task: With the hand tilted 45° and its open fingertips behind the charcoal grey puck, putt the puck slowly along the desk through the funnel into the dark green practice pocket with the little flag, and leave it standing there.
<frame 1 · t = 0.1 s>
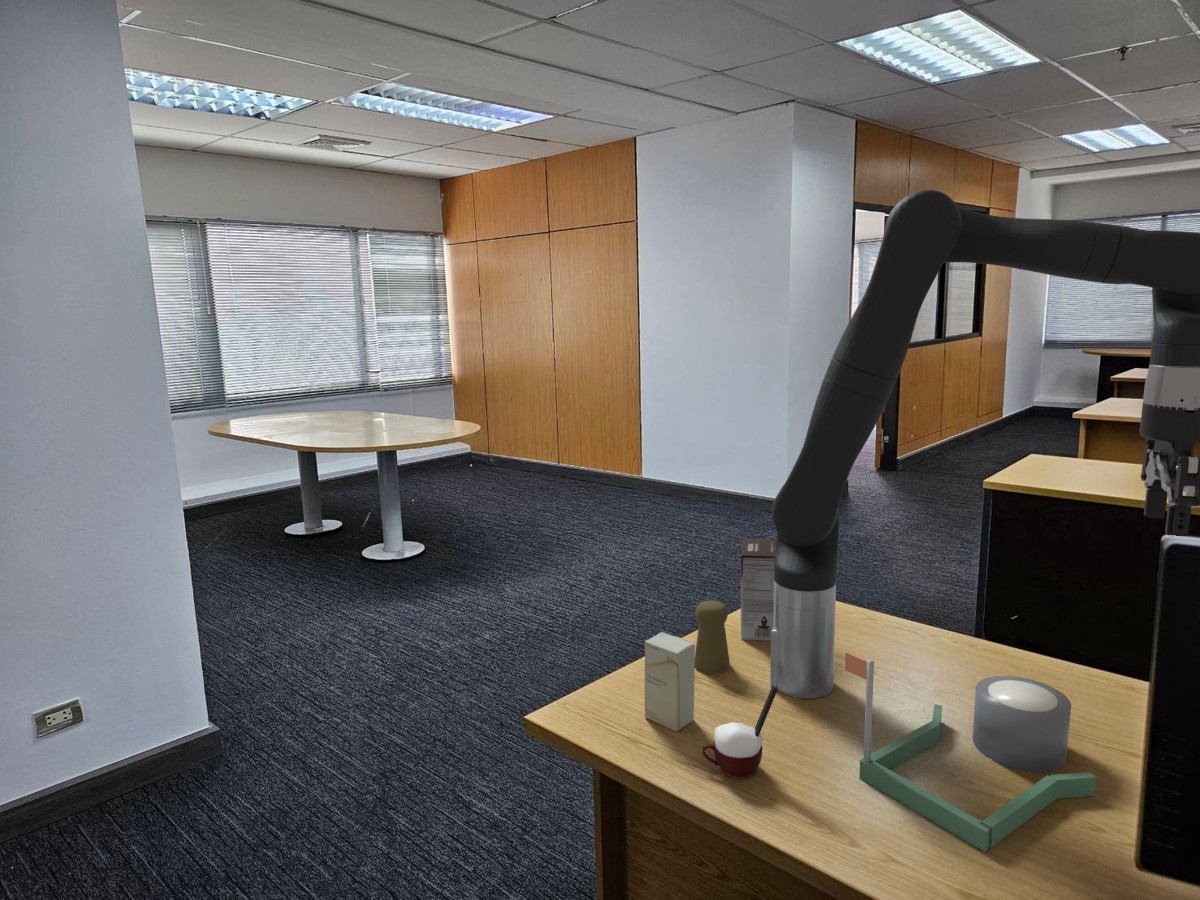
hand: (1164, 526, 98), 29 cm above the table, tool pointing down, fingers open, 8 cm apart
practice pocket: (957, 786, 94), on the table
skincare box: (670, 720, 112), on the table
coffee box: (758, 631, 140), on the table
cocoa: (739, 771, 99), on the table
cork: (711, 666, 127), on the table
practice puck: (1018, 747, 102), on the table
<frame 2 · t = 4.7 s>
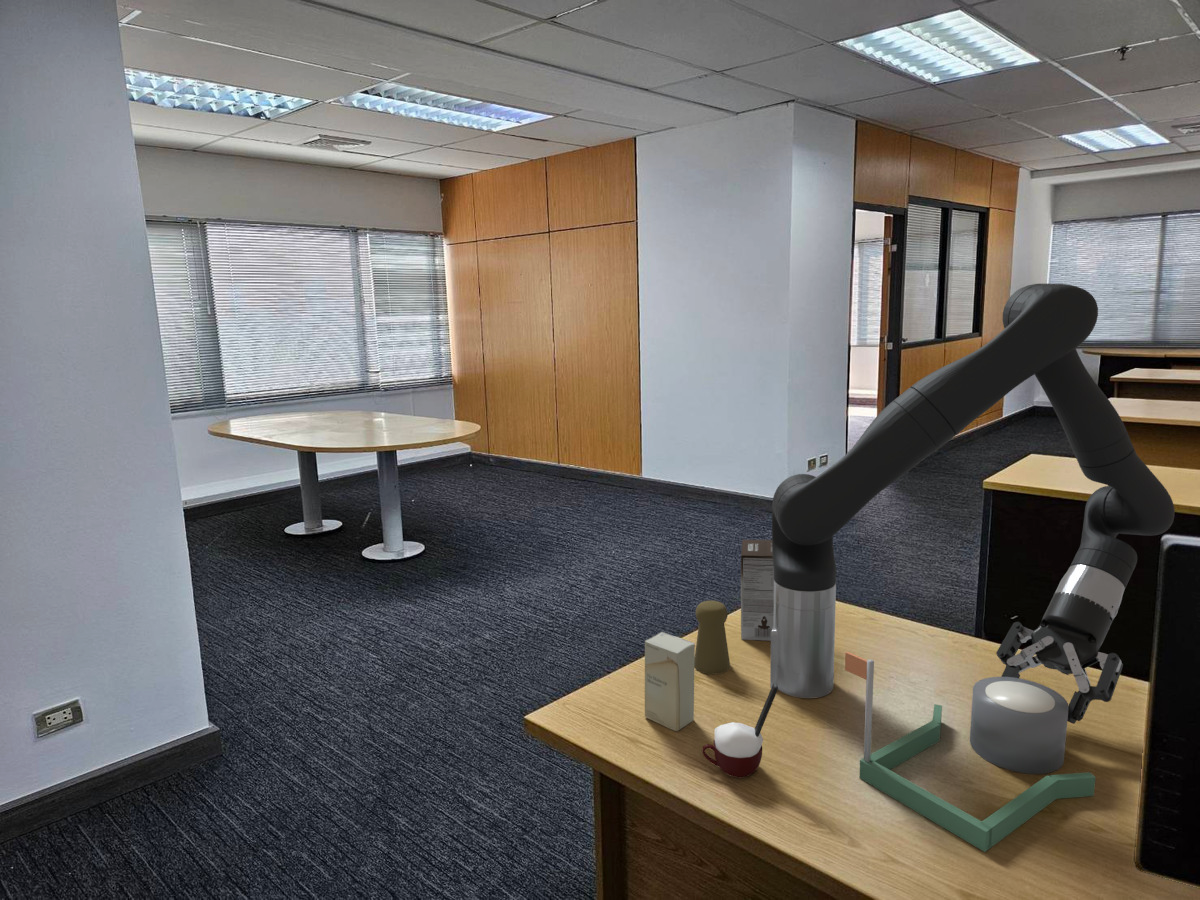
hand: (1035, 706, 103), 5 cm above the table, tool tilted 45°
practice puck: (1015, 748, 101), on the table, touching gripper
everything else where it was.
when the fingers open (5 cm above the table, at t = 5.8 s): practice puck stays where it is, on the table.
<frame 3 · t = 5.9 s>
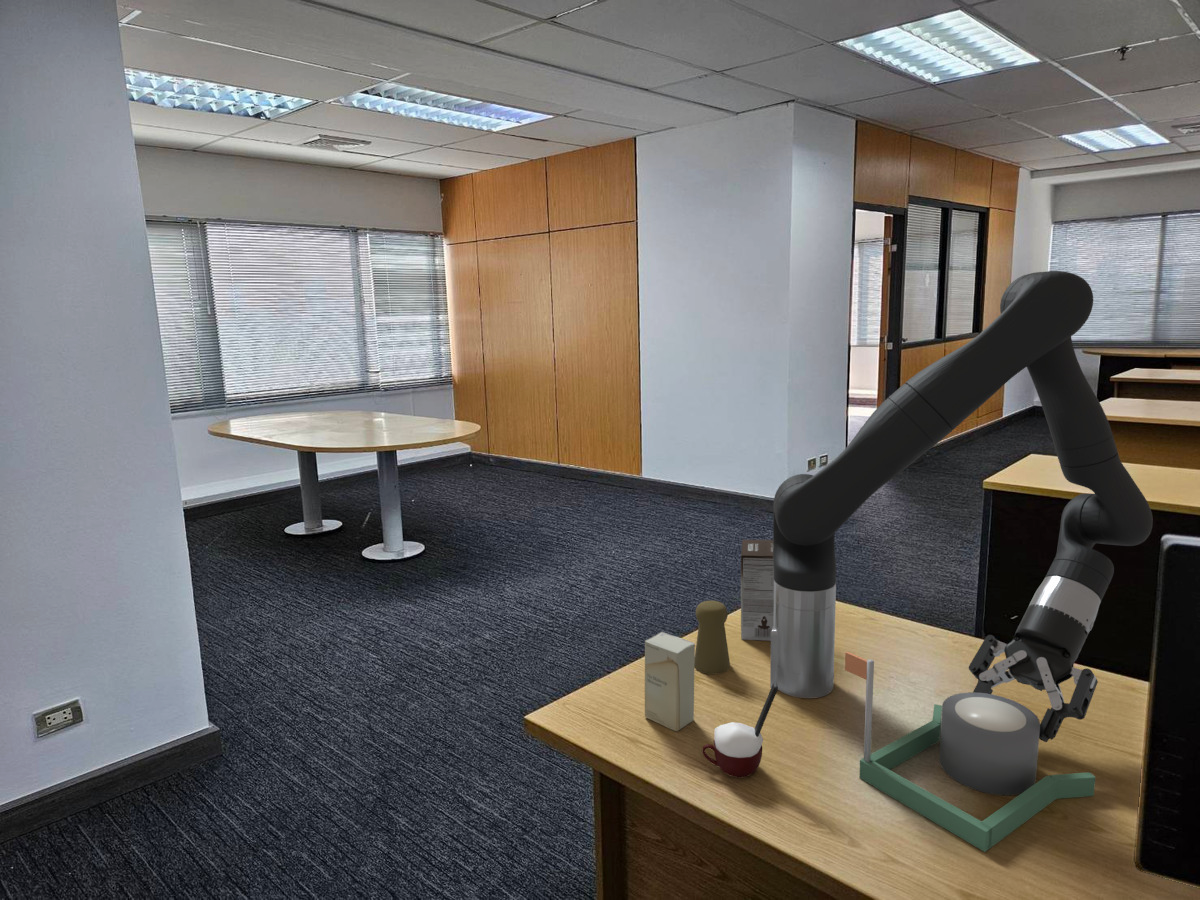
hand: (1007, 724, 99), 5 cm above the table, tool tilted 45°, fingers open, 8 cm apart
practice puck: (986, 767, 98), on the table, touching gripper
everything else where it was.
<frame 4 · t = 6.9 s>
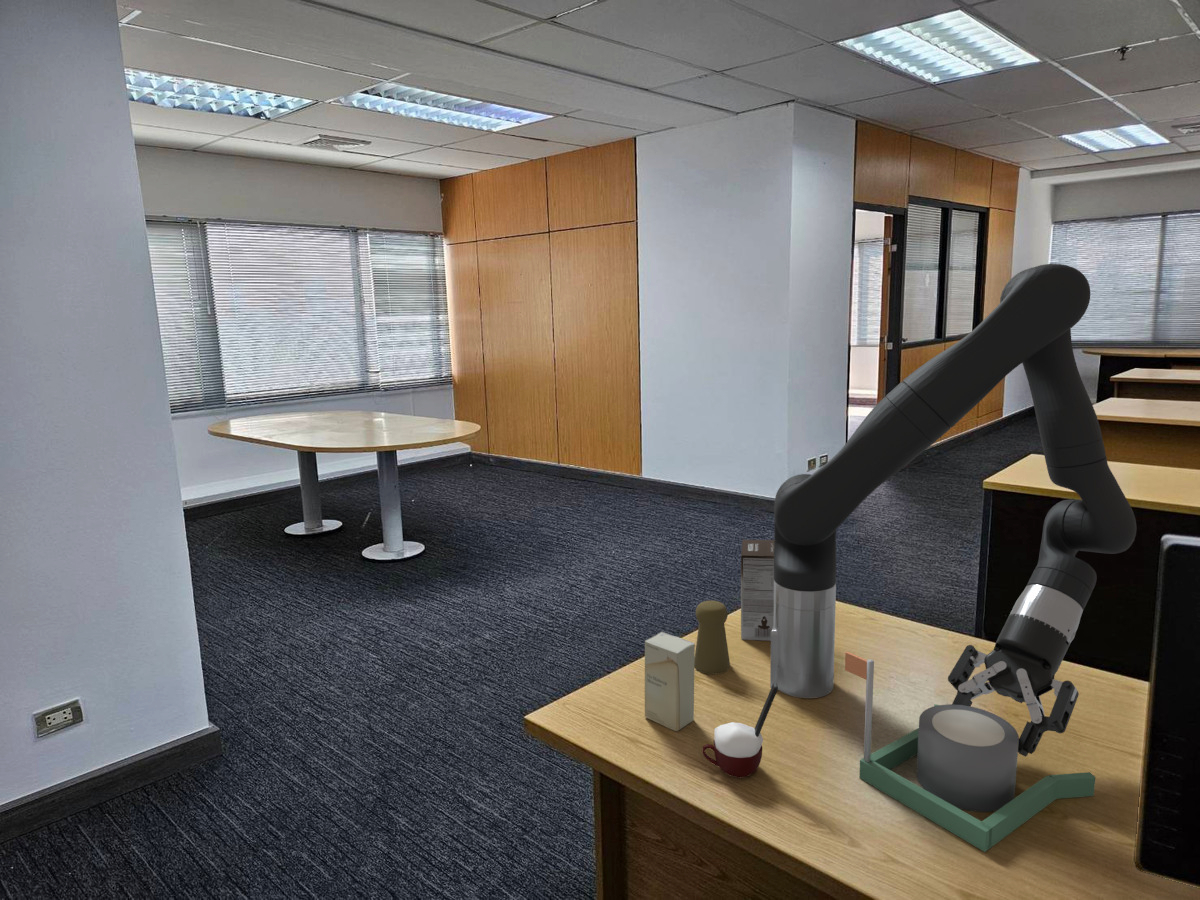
hand: (986, 737, 96), 5 cm above the table, tool tilted 45°
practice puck: (964, 782, 95), on the table, touching gripper
everything else where it was.
when the fingers open (5 cm above the table, at t = 8.0 s): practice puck stays where it is, on the table.
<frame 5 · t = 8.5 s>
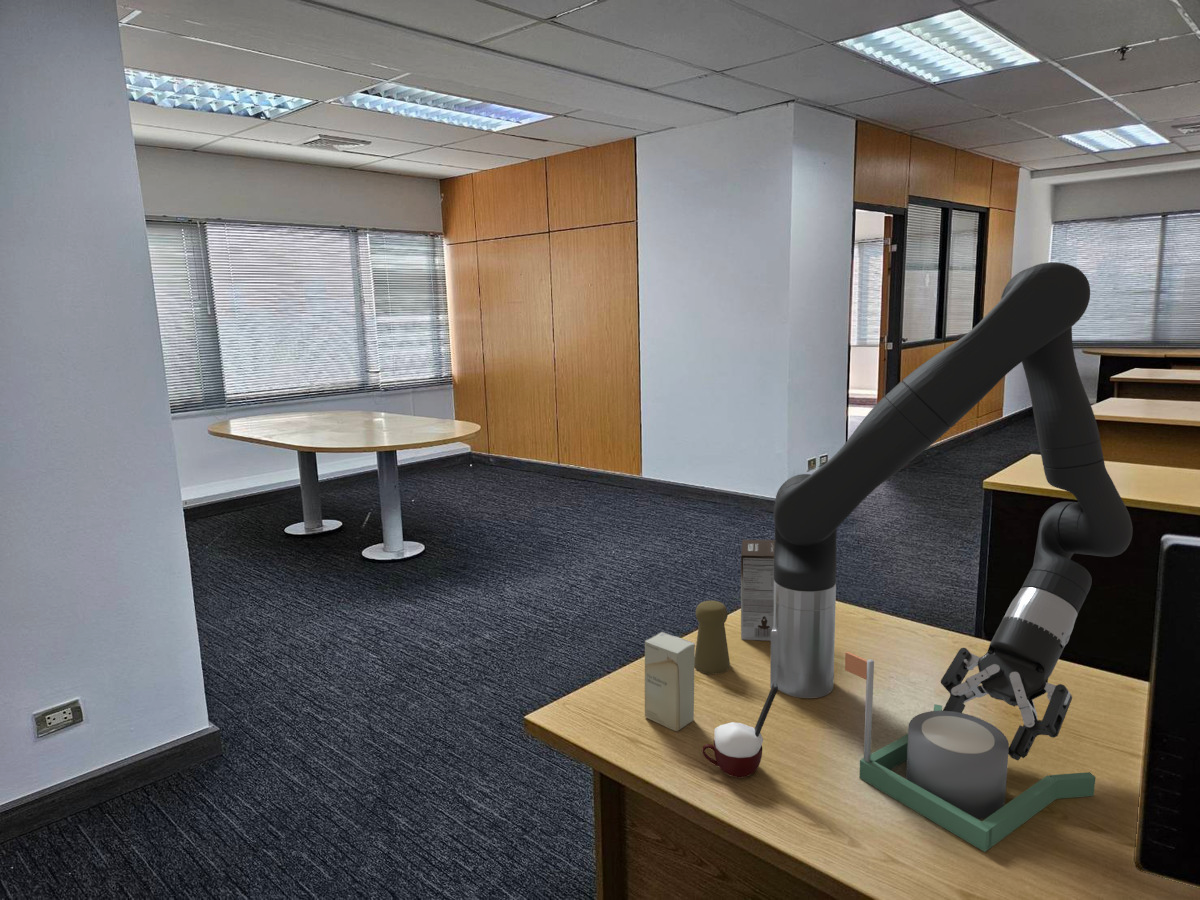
hand: (978, 740, 96), 5 cm above the table, tool tilted 45°, fingers open, 8 cm apart
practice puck: (954, 790, 94), on the table
everything else where it was.
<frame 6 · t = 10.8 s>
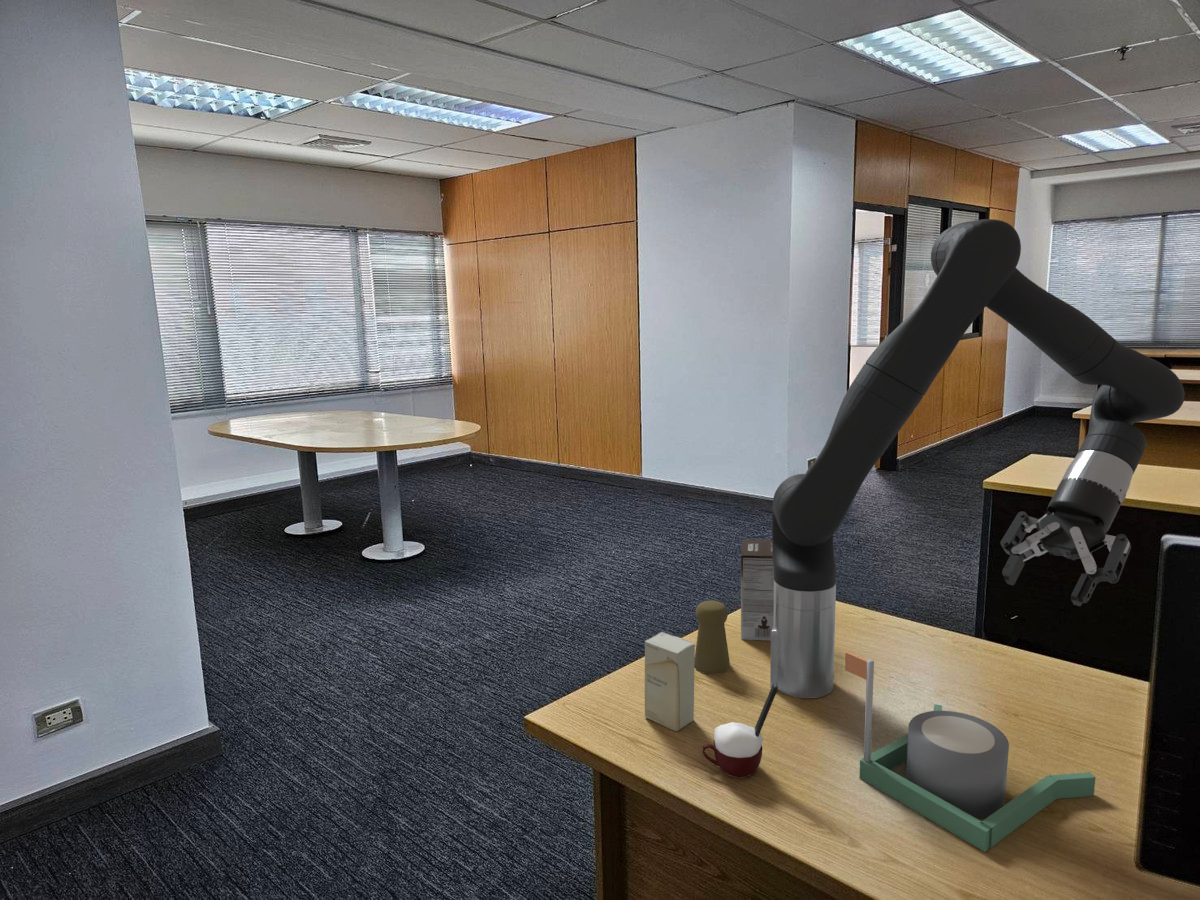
hand: (1040, 592, 100), 21 cm above the table, tool tilted 45°, fingers open, 8 cm apart
nothing on the table moved.
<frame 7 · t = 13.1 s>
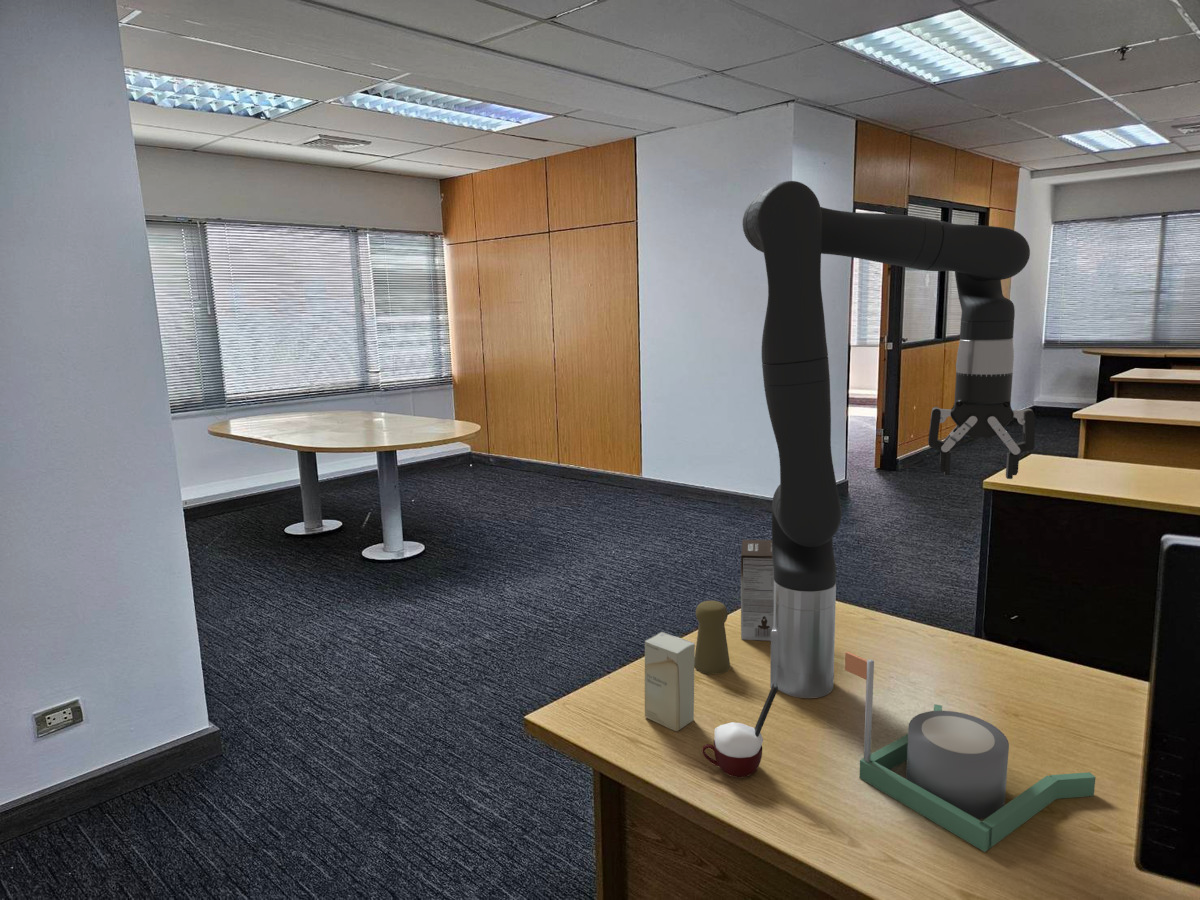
hand: (977, 476, 116), 32 cm above the table, tool pointing down, fingers open, 8 cm apart
nothing on the table moved.
at the end: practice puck 0.9 cm from the practice pocket (horizontally); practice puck tilted 0°; the gripper is holding nothing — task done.
